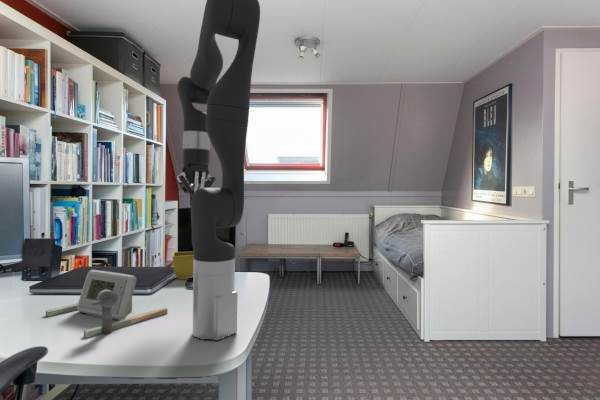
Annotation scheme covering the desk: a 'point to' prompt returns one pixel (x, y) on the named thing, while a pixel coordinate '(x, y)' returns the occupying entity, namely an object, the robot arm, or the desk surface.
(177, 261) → the flower pot
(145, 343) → the desk surface
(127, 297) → the digital clock
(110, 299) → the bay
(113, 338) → the desk surface
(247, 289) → the desk surface
